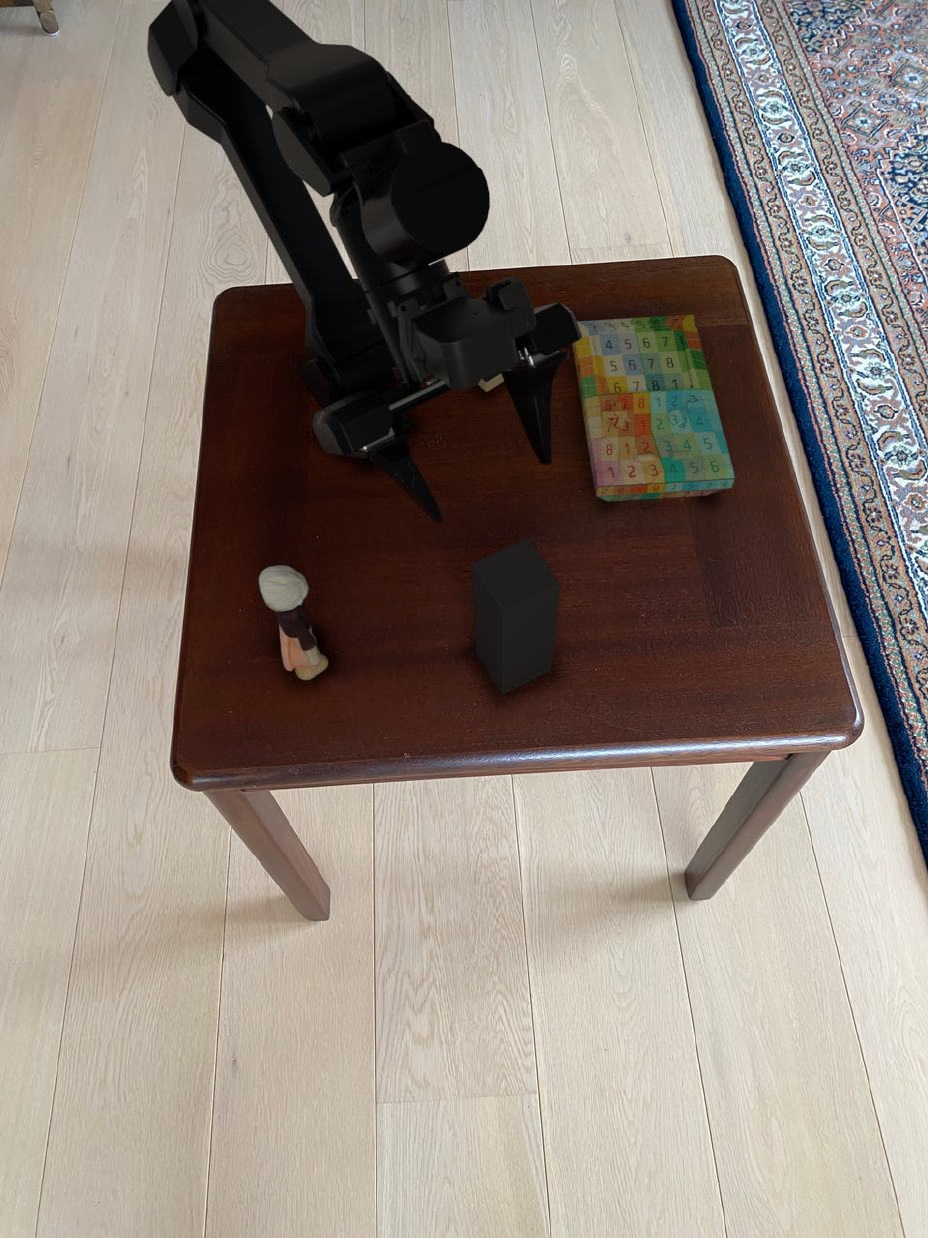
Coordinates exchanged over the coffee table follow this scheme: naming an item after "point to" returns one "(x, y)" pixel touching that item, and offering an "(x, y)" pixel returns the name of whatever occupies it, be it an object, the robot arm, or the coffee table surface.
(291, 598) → the grandmother figurine
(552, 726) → the coffee table surface
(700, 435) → the puzzle game
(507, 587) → the pad block
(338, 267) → the robot arm
